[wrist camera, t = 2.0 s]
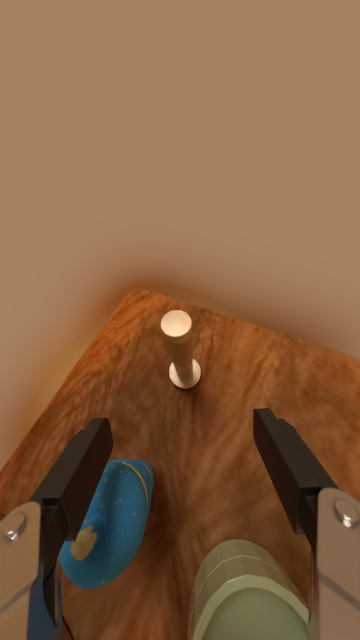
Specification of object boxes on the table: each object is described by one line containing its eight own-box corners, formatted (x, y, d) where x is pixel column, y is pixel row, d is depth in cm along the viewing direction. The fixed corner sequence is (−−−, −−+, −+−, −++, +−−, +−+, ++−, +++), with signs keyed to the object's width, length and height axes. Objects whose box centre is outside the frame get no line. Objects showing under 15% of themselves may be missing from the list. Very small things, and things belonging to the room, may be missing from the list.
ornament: (144, 435, 22) (77, 448, 10) (178, 462, 21) (152, 524, 8) (117, 480, 20) (-16, 575, 7) (152, 515, 19) (59, 715, 6)
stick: (195, 355, 27) (196, 293, 15) (204, 384, 25) (214, 342, 12) (167, 362, 27) (142, 306, 14) (173, 393, 25) (150, 358, 12)
